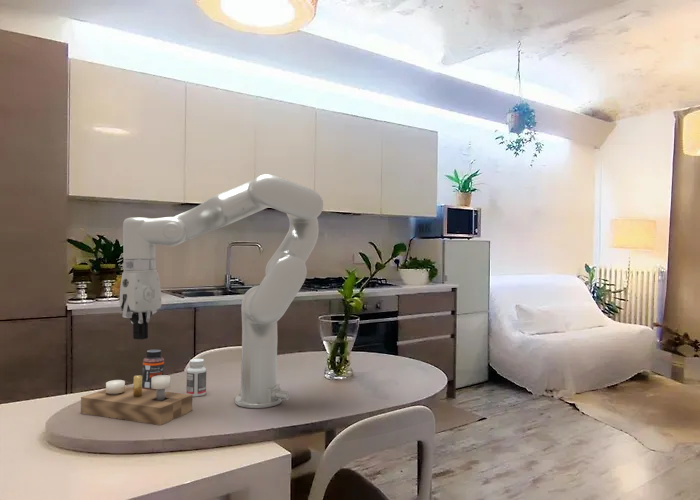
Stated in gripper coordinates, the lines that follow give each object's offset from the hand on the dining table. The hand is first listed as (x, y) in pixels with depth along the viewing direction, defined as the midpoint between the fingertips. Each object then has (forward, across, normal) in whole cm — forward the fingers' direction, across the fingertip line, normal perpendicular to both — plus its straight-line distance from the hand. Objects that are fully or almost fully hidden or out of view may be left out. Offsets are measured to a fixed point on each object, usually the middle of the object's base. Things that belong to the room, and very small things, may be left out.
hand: (140, 338), depth 129 cm
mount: (+18, -1, +1) cm, 18 cm away
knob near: (+15, 0, -6) cm, 16 cm away
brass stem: (+14, -1, +1) cm, 14 cm away
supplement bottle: (+19, +18, +12) cm, 29 cm away
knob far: (+17, -1, +8) cm, 19 cm away
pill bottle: (+19, +18, -3) cm, 27 cm away
